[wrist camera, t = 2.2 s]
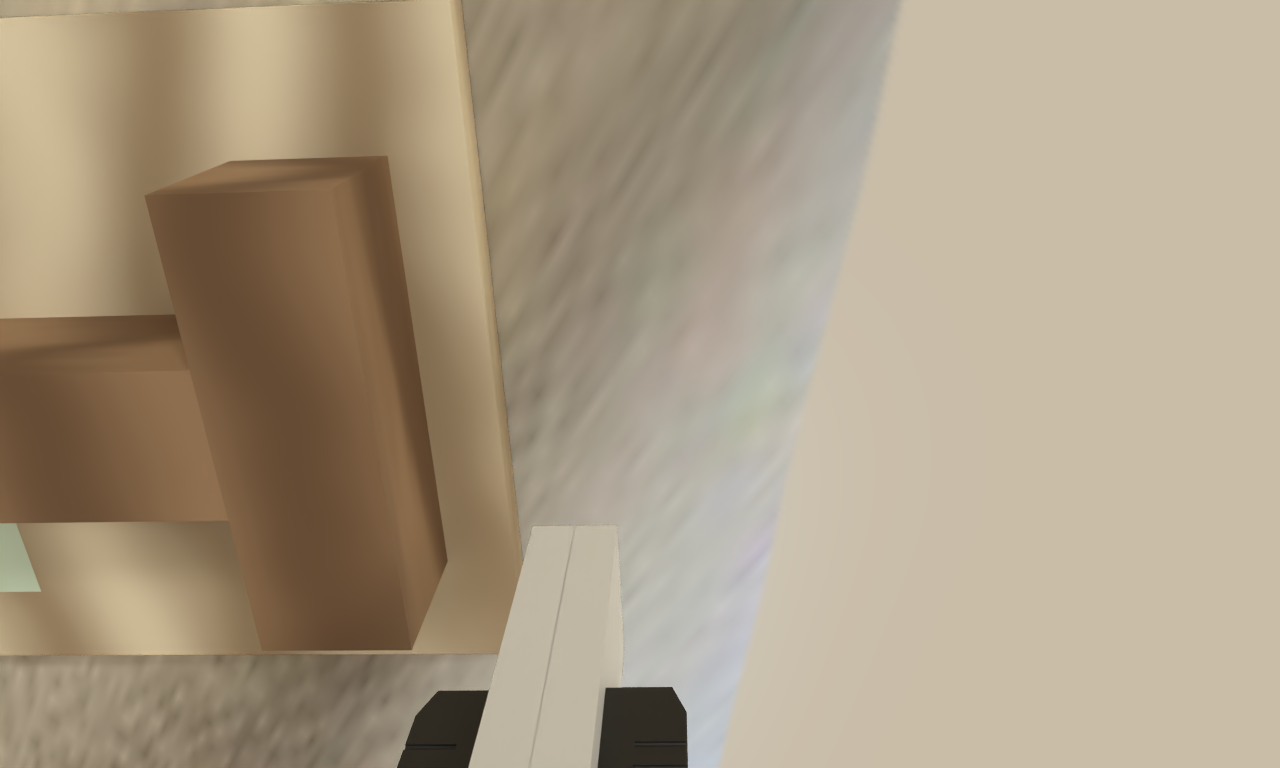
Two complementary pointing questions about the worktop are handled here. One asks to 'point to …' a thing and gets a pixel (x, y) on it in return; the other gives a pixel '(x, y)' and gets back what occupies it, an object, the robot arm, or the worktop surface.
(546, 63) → the worktop surface
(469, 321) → the board
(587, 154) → the worktop surface
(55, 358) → the t block
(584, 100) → the worktop surface
